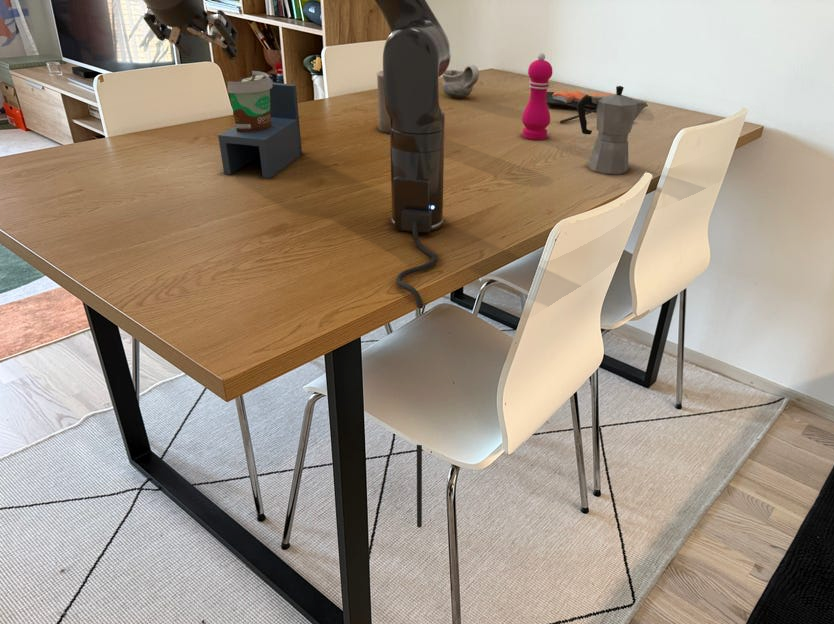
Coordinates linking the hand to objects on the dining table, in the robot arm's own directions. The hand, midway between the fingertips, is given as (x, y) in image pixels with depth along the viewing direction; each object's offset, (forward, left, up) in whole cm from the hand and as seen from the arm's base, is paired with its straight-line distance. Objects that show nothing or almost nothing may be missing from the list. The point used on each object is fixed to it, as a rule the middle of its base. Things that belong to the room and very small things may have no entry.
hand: (211, 54), depth 126 cm
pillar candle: (+52, -20, -25) cm, 61 cm away
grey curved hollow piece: (+93, -29, -25) cm, 101 cm away
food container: (+15, 0, -17) cm, 23 cm away
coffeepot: (+36, -73, -25) cm, 85 cm away
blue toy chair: (+16, 0, -25) cm, 29 cm away
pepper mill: (+57, -55, -25) cm, 83 cm away
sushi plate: (+88, -67, -25) cm, 113 cm away
